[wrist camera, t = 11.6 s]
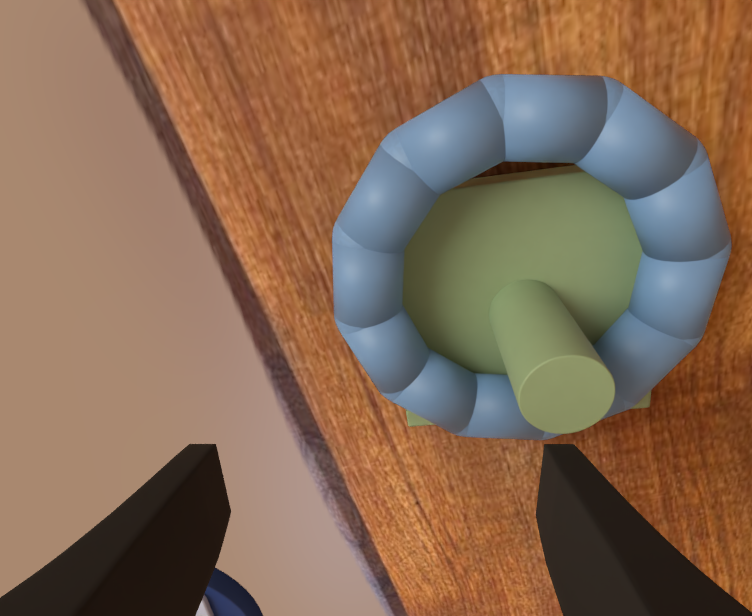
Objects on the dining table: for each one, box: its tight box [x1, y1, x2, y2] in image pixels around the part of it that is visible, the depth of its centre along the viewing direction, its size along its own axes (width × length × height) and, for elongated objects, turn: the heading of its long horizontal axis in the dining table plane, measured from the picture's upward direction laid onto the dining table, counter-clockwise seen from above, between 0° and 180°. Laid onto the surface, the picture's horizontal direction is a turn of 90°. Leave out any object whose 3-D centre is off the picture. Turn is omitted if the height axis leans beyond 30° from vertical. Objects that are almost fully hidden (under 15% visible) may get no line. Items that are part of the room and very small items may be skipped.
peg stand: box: [402, 165, 651, 434], centre depth 15 cm, size 9×9×6 cm
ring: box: [332, 74, 732, 440], centre depth 16 cm, size 12×12×2 cm
